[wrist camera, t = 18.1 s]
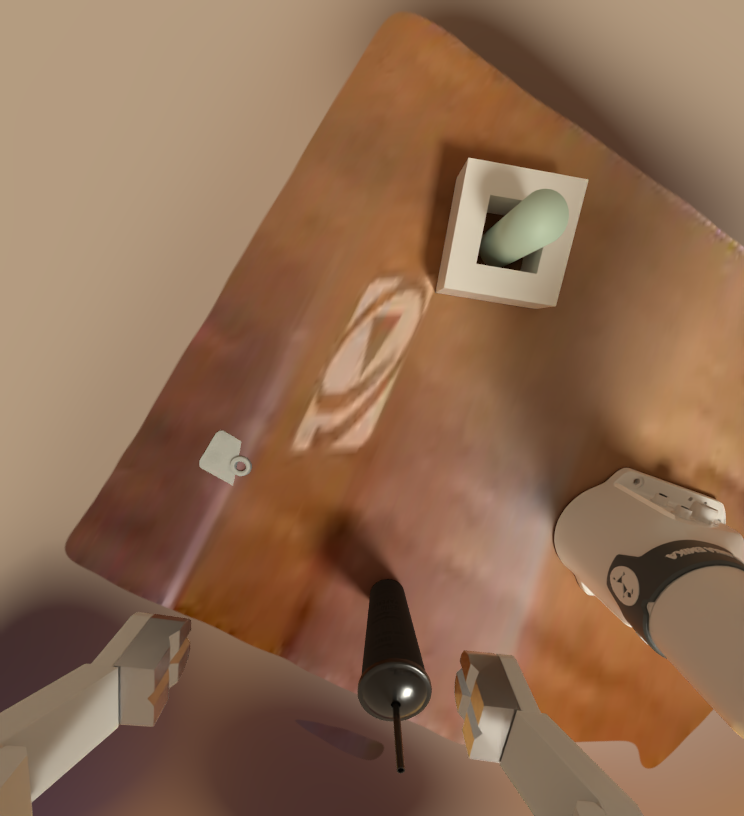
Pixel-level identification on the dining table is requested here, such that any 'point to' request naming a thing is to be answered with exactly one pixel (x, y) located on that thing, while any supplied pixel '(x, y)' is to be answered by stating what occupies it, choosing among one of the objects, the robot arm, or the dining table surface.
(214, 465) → the mounting bracket
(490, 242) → the green dowel
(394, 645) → the drinking cup
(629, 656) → the dining table surface
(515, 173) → the well block
